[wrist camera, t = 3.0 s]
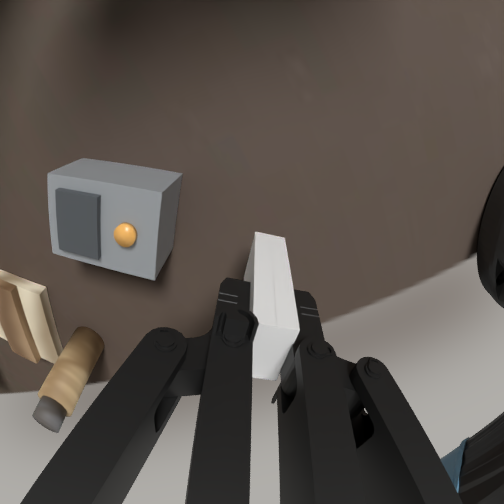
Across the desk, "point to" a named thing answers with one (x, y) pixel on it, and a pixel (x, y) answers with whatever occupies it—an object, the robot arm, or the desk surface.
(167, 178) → the box
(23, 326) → the panel
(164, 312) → the desk surface
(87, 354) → the peg
